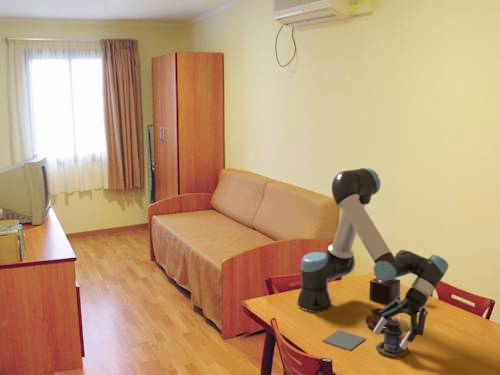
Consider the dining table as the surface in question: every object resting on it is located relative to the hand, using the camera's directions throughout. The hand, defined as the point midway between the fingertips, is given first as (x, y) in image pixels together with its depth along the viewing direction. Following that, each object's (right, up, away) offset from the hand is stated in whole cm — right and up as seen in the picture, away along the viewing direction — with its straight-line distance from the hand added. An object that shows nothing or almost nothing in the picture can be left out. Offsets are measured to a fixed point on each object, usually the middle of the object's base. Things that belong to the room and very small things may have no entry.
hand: (388, 340), depth 182 cm
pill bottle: (+2, -5, +2) cm, 5 cm away
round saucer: (+2, -4, +2) cm, 5 cm away
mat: (-14, -3, +11) cm, 18 cm away
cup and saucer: (+3, -1, +22) cm, 23 cm away
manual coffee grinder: (+14, +4, +51) cm, 53 cm away
